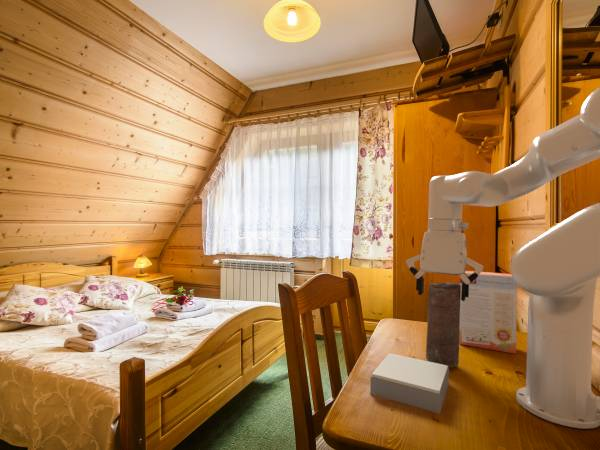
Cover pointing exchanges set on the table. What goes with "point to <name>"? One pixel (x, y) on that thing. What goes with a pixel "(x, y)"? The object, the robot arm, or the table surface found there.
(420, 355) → the table surface
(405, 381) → the podium
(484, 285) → the cracker box
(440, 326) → the candle
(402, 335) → the table surface
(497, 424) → the table surface
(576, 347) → the robot arm
